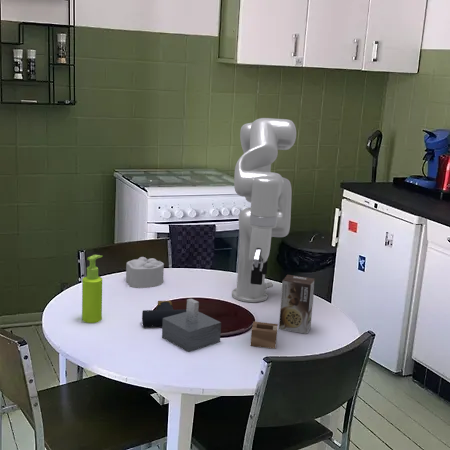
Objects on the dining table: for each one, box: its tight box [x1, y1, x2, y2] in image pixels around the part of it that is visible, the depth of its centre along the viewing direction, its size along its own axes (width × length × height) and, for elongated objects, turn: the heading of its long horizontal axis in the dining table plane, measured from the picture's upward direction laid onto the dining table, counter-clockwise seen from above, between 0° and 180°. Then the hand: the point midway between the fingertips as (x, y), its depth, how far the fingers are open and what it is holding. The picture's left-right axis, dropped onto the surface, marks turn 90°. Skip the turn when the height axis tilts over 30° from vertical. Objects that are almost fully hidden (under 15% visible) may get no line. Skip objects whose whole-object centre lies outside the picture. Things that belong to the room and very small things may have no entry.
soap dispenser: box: [81, 254, 104, 324], centre depth 198 cm, size 6×7×20 cm
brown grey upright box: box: [278, 274, 316, 335], centre depth 201 cm, size 9×6×16 cm
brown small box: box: [249, 321, 279, 350], centre depth 191 cm, size 6×7×5 cm
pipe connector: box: [141, 300, 187, 328], centre depth 202 cm, size 12×5×15 cm
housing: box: [161, 298, 222, 353], centre depth 189 cm, size 12×12×12 cm
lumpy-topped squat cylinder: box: [125, 256, 165, 289], centre depth 234 cm, size 10×13×9 cm
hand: (258, 278), depth 187 cm, fingers open, 9 cm apart
